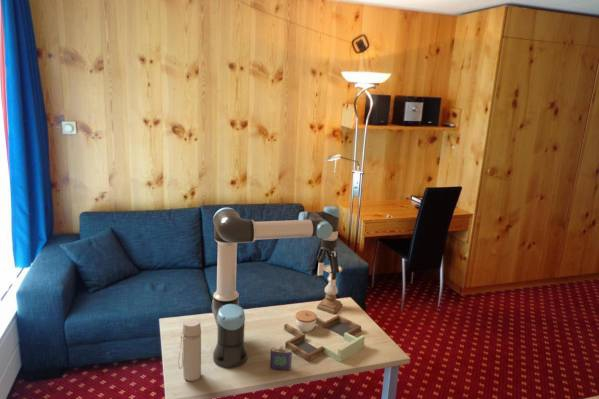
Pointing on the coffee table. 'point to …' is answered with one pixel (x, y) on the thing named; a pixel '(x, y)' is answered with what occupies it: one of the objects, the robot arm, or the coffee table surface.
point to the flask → (280, 359)
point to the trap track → (311, 352)
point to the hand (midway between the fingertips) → (326, 280)
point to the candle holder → (330, 296)
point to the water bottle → (191, 349)
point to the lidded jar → (305, 320)
